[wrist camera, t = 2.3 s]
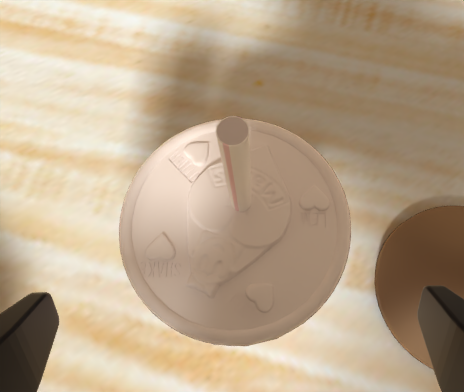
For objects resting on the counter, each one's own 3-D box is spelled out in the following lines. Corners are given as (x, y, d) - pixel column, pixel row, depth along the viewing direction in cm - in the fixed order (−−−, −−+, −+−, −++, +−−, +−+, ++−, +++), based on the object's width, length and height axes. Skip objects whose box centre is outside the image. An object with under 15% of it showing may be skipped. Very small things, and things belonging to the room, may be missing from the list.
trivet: (583, 344, 18) (594, 345, 17) (421, 405, 17) (427, 408, 17) (492, 188, 20) (499, 184, 19) (348, 238, 20) (350, 236, 19)
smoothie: (325, 233, 20) (471, 66, 6) (277, 355, 18) (339, 468, 5) (213, 186, 21) (139, -40, 8) (158, 297, 19) (-56, 260, 6)
